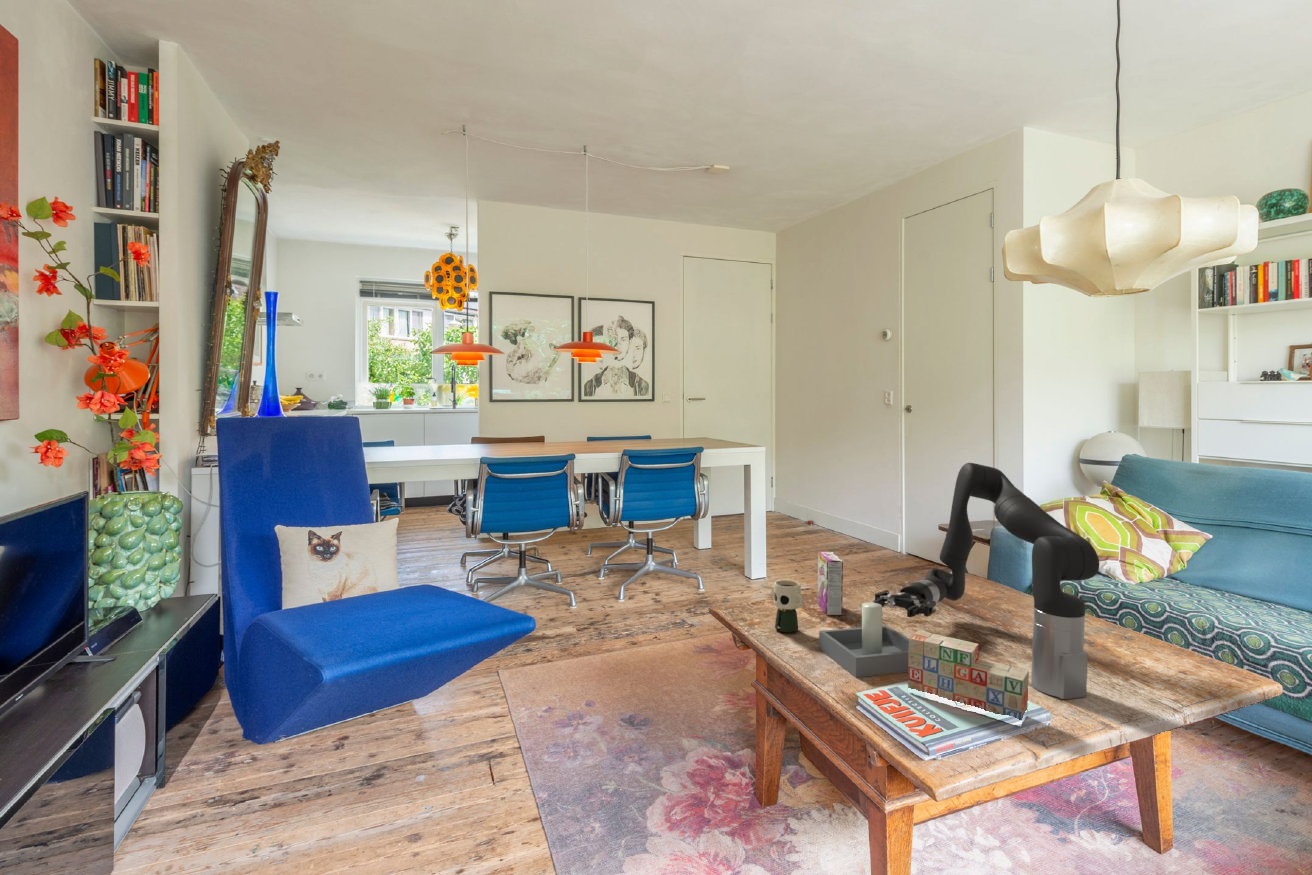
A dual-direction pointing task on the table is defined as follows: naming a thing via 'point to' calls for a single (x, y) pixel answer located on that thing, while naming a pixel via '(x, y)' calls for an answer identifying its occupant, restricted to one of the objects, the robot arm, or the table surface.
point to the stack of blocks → (965, 675)
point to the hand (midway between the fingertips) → (892, 608)
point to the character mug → (787, 604)
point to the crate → (848, 654)
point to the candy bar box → (830, 583)
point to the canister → (871, 628)
